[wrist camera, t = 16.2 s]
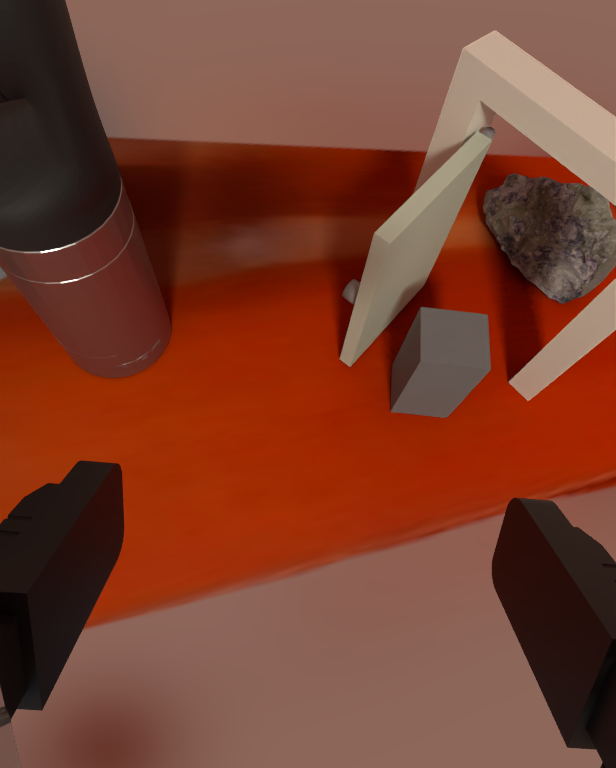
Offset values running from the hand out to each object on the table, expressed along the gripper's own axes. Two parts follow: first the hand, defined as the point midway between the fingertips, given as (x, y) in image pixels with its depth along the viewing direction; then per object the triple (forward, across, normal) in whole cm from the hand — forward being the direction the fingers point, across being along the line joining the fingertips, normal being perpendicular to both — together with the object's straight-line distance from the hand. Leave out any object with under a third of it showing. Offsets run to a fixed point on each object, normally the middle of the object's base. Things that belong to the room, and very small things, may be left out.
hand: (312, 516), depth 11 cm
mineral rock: (+46, -24, -1) cm, 52 cm away
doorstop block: (+34, -11, +10) cm, 37 cm away
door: (+39, -7, +5) cm, 40 cm away
